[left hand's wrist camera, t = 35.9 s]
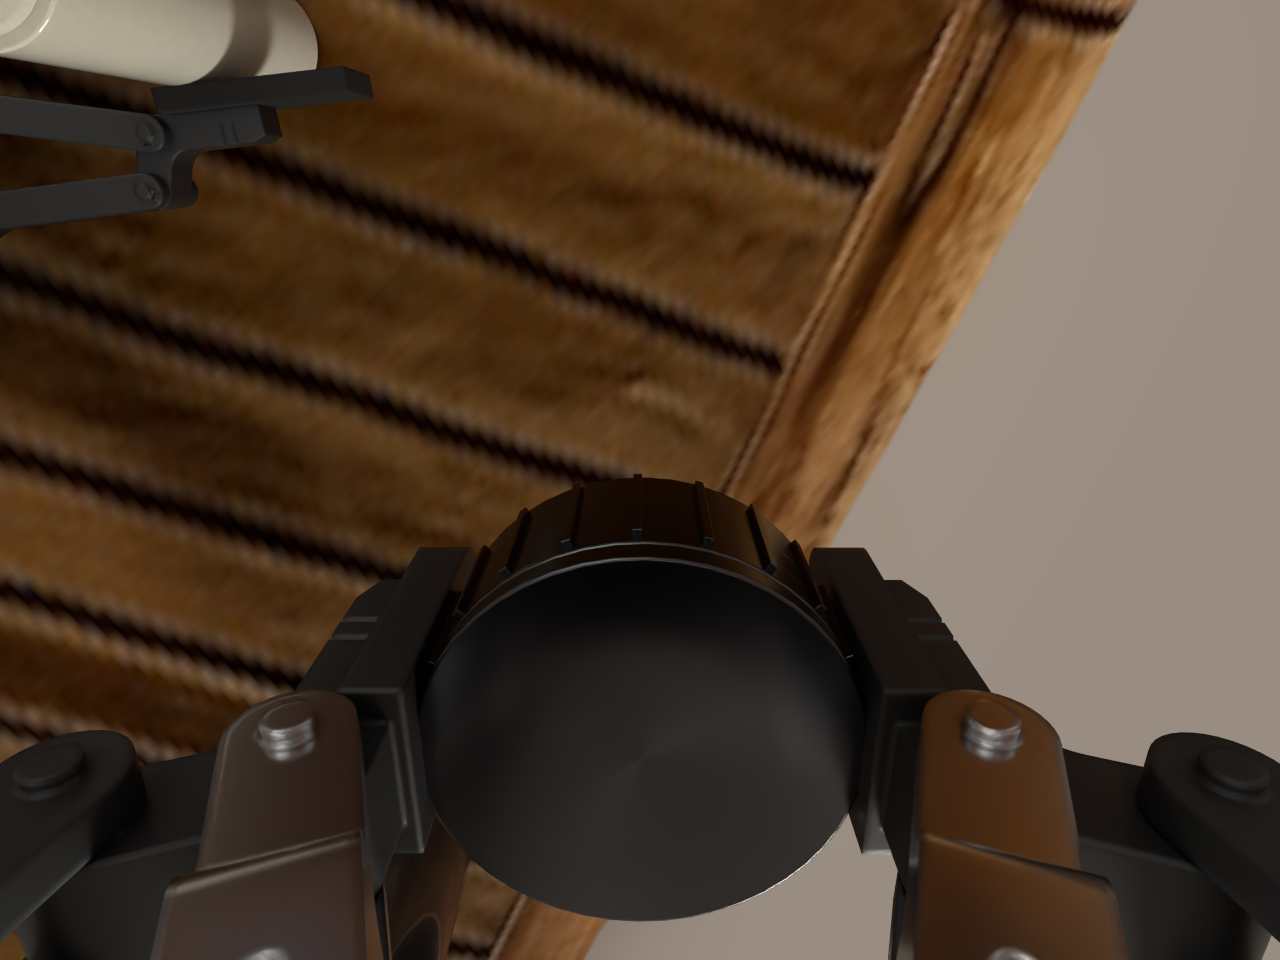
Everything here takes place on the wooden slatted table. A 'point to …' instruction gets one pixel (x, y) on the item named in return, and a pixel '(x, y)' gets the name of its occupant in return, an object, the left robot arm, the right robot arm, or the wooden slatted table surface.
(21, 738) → the wooden slatted table surface
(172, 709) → the wooden slatted table surface
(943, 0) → the wooden slatted table surface
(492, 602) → the lid
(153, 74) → the cream bottle
